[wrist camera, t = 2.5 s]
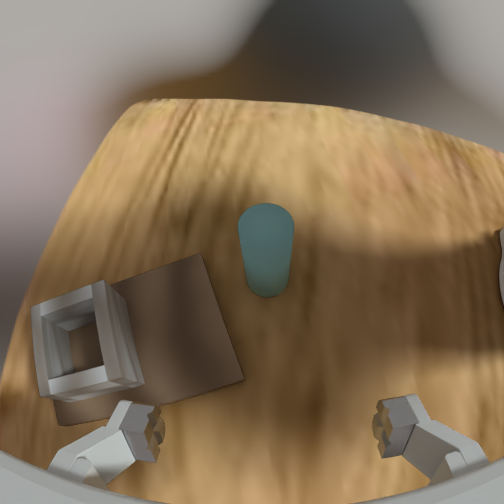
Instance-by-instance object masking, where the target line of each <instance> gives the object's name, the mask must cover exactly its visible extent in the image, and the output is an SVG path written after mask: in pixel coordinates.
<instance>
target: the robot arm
mask: <svg viewBox="0 0 504 504" xmlns="http://www.w3.org/2000/svg"><path fill="white" fill-rule="evenodd" d="M500 241H501V247H502V258H501V263H500V271H499V281H500V290H501V296H502V300H503V304H504V228H503V229H502V230H501V231H500ZM376 408H377V411H378V412H377V413H376V414H375V415H374V417H373V422H372V429H373V434H374V437H375V438H376V439H377V440H379V443H378V449H379V452H380V455H381V458H388V457H394V456H399V455H402V456H403V457H404V458H405V459H406V460H407V461H409V462H410V463H411V464H412V465H414V466H415V467H416V468H417V469H418V470H420V471H421V472H422V473H423V474H425V475H426V476H427V477H428V478H430V479H431V481H430V482H429V484H428V485H427V486H426V487H423V488H419V489H416V490H412V491H409V492H405V493H401V494H397V495H392V496H388V497H383V498H379V499H374V500H369V501H363V502H357V503H351V504H504V457H502V458H500V459H498V460H495V461H493V462H491V463H489V461H488V459H487V457H486V455H485V454H484V452H483V450H482V449H481V447H480V445H479V443H478V442H476V441H474V440H472V439H470V438H468V437H466V436H464V435H462V434H460V433H458V432H457V431H455V430H453V429H451V428H449V427H447V426H445V425H443V424H442V423H440V422H438V421H436V420H431V419H430V417H429V415H428V413H427V412H426V410H425V408H424V406H423V404H422V403H421V401H420V399H419V397H418V396H417V395H416V394H410V395H405V396H400V397H394V398H388V399H382V400H379V401H378V403H377V406H376ZM160 413H161V410H160V407H159V406H158V405H156V404H148V403H141V402H135V401H127V400H121V401H120V402H119V403H118V405H117V407H116V408H115V410H114V412H113V414H112V416H111V418H110V419H109V421H108V423H107V425H106V427H104V426H102V427H100V428H98V429H96V430H95V431H93V432H91V433H89V434H87V435H86V436H84V437H82V438H80V439H78V440H76V441H75V442H73V443H71V444H69V445H67V446H65V447H63V448H61V449H59V450H58V452H57V454H56V455H55V457H54V458H53V460H52V462H51V463H50V465H49V467H48V468H47V470H44V469H42V468H39V467H37V466H35V465H32V464H30V463H28V462H26V461H23V460H21V459H19V458H17V457H15V456H13V455H11V454H8V453H6V452H4V451H2V450H1V449H0V504H169V503H162V502H157V501H151V500H146V499H141V498H136V497H132V496H127V495H123V494H119V493H115V492H111V491H110V490H109V488H108V487H107V486H106V485H107V484H108V483H109V482H110V481H112V480H113V479H114V478H115V477H117V476H118V475H119V474H120V473H122V472H123V471H124V470H125V469H126V468H128V467H129V466H130V465H131V464H132V463H134V462H135V461H136V460H141V461H148V462H155V463H156V461H157V458H158V455H159V453H160V448H159V444H161V443H162V442H163V440H164V437H165V423H164V420H163V419H162V418H161V417H160Z"/></svg>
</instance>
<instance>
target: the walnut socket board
mask: <svg viewBox="0 0 504 504" xmlns="http://www.w3.org/2000/svg"><path fill="white" fill-rule="evenodd" d="M31 324H32V338H33V349H34V358H35V366H36V373H37V380H38V387H39V393H40V397H44V398H49V399H53V401H54V406H55V410H56V415H57V419H58V424H59V426H71V425H77V424H82V423H88V422H93V421H98V420H103V419H108V418H111V416H112V414H113V412H114V410H115V408H116V407H117V405H118V403H119V402H120V401H121V400H127V401H135V402H141V403H148V404H156V405H158V406H163V405H167V404H170V403H174V402H177V401H181V400H185V399H188V398H191V397H195V396H198V395H201V394H205V393H208V392H211V391H214V390H217V389H220V388H224V387H227V386H230V385H233V384H236V383H238V382H241V381H244V380H245V378H244V375H243V372H242V370H241V367H240V364H239V362H238V359H237V356H236V353H235V351H234V348H233V345H232V342H231V340H230V337H229V334H228V331H227V328H226V326H225V323H224V320H223V317H222V314H221V311H220V308H219V306H218V303H217V300H216V297H215V294H214V291H213V288H212V285H211V282H210V279H209V276H208V273H207V270H206V267H205V264H204V261H203V258H202V256H201V253H199V254H196V255H194V256H191V257H188V258H185V259H182V260H179V261H176V262H174V263H171V264H168V265H165V266H162V267H159V268H157V269H154V270H151V271H148V272H145V273H142V274H140V275H137V276H134V277H131V278H128V279H126V280H123V281H120V282H117V283H115V284H112V285H109V284H108V283H107V282H106V281H105V280H104V279H103V280H101V281H98V282H95V283H93V284H90V285H87V286H85V287H82V288H79V289H77V290H74V291H71V292H69V293H66V294H63V295H61V296H58V297H55V298H53V299H50V300H47V301H45V302H42V303H40V304H37V305H34V306H32V307H31Z"/></svg>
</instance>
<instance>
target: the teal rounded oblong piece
mask: <svg viewBox="0 0 504 504" xmlns="http://www.w3.org/2000/svg"><path fill="white" fill-rule="evenodd" d="M238 233H239V239H240V245H241V250H242V256H243V262H244V268H245V273H246V279H247V284H248V286H249V288H250V289H251V290H252V291H253V292H254V293H255V294H257V295H259V296H262V297H273V296H276V295H278V294H280V293H281V292H282V291H283V290H284V289H285V288H286V286H287V284H288V279H289V270H290V262H291V253H292V243H293V234H294V222H293V219H292V217H291V215H290V214H289V213H288V212H287V211H286V210H285V209H284V208H282V207H280V206H278V205H275V204H270V203H262V204H257V205H254V206H252V207H250V208H249V209H247V210H246V211H245V212H244V213H243V214H242V215H241V217H240V219H239V222H238Z"/></svg>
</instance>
